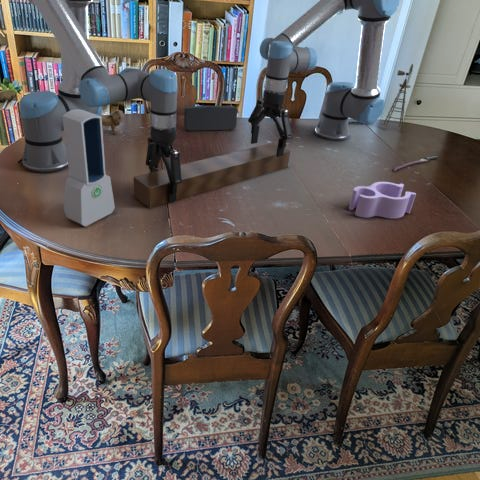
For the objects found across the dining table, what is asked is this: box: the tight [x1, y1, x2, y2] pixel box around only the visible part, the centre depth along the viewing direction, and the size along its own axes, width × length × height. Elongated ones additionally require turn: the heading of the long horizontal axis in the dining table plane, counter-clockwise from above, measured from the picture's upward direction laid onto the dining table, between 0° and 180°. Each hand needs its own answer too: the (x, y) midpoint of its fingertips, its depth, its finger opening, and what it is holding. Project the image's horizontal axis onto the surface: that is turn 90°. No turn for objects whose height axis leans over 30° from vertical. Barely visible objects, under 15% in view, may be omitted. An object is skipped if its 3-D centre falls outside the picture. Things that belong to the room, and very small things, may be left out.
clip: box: [348, 181, 417, 220], centre depth 152 cm, size 20×12×7 cm, turn 109°
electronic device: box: [63, 109, 116, 227], centre depth 126 cm, size 12×8×30 cm, turn 148°
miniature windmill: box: [383, 63, 414, 132], centre depth 220 cm, size 9×8×30 cm
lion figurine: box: [102, 109, 125, 135], centre depth 186 cm, size 15×5×9 cm, turn 110°
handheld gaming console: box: [183, 105, 239, 132], centre depth 200 cm, size 23×3×10 cm, turn 108°
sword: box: [393, 155, 441, 172], centre depth 190 cm, size 31×3×1 cm, turn 126°
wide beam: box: [133, 142, 291, 209], centre depth 159 cm, size 60×9×7 cm, turn 131°
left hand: (163, 194), depth 148 cm, fingers closed on wide beam, 9 cm apart
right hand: (266, 149), depth 170 cm, fingers open, 13 cm apart
